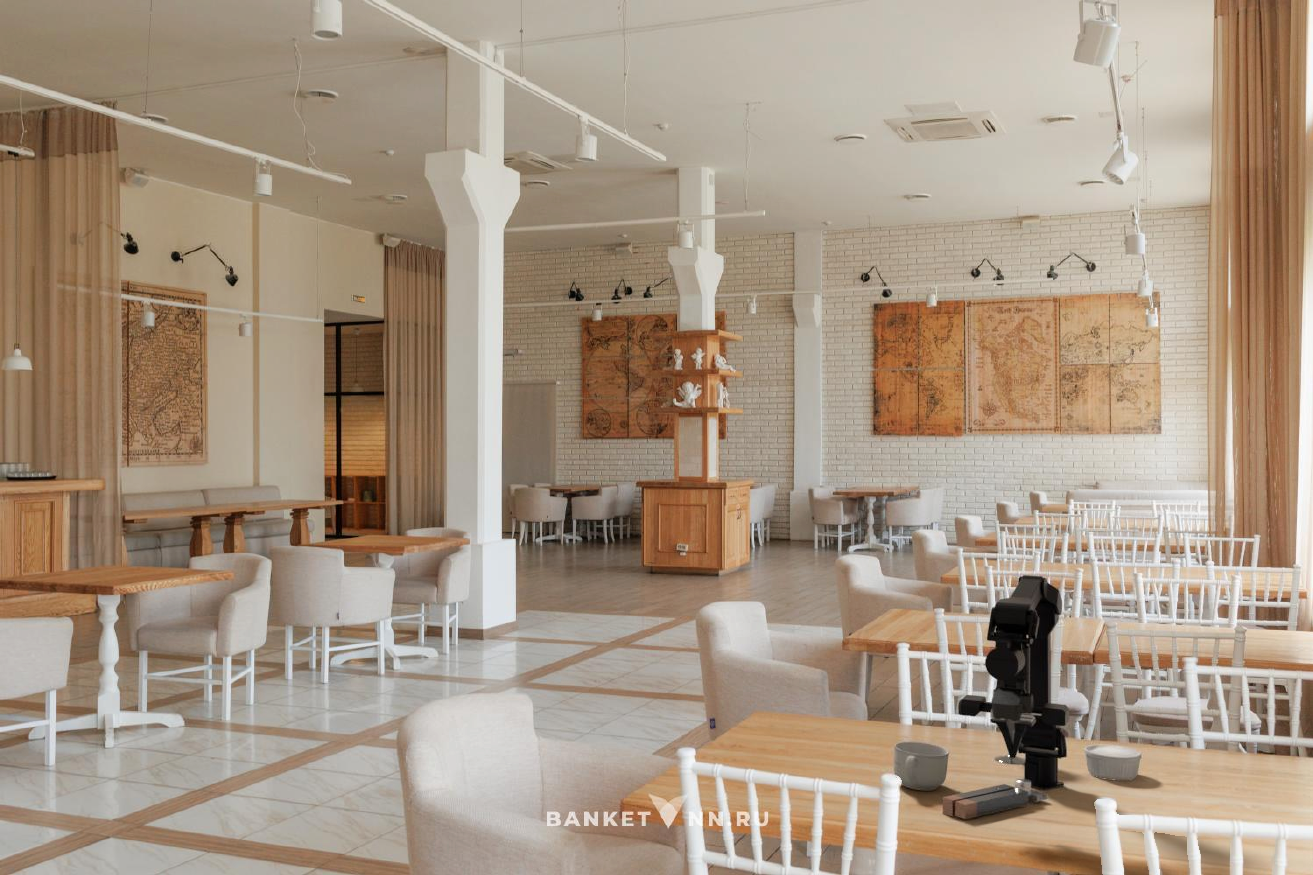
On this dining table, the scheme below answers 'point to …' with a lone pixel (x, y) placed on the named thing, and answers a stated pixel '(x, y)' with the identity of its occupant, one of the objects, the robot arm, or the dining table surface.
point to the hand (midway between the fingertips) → (1012, 757)
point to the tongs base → (1019, 783)
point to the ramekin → (1112, 761)
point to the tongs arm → (991, 803)
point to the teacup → (920, 765)
